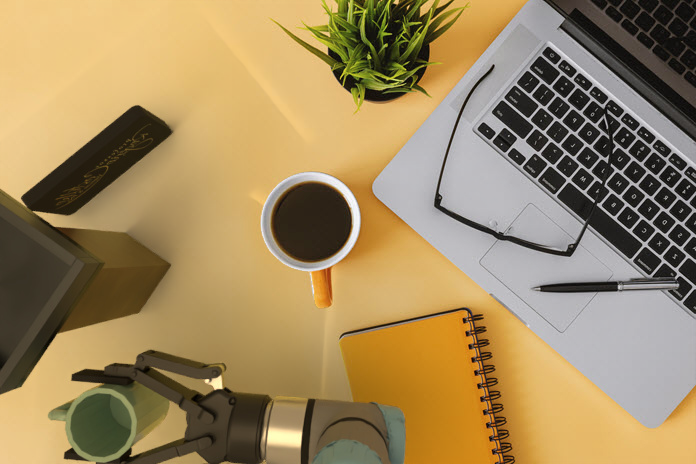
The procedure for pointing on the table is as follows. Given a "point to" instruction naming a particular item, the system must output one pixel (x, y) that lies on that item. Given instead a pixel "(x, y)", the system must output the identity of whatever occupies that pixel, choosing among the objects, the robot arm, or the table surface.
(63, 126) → the table surface
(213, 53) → the table surface
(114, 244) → the stand
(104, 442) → the mug
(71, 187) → the nameplate
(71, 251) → the tray
